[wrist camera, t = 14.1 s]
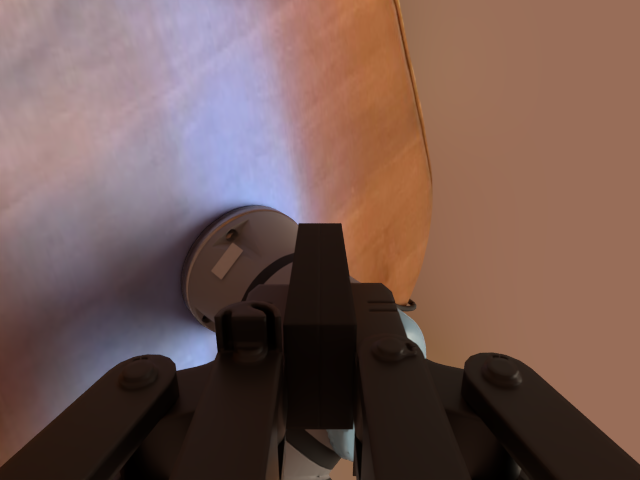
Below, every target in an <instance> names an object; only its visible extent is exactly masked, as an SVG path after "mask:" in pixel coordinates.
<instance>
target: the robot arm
mask: <svg viewBox="0 0 640 480" xmlns="http://www.w3.org/2000/svg"><path fill="white" fill-rule="evenodd" d="M181 290H182V295H183V299H184V301H185V304H186V306H187V308H188V309H189V310H190V312H191V313H192V314H193V316H194V317H195V318H196V319H197V320H198V321H199V322H200V323H201V324H202V325H203V326H204V327H206V328H208V329H209V330H211V331H213V332H215V333H216V340H217V350H218V353H217V355H216V358H215V360H214V361H212V362H209V363H207V364H204V365H201V366H197V367H193V368H188V369H184V370H179V371H176V365H175V363H174V362H173V361H172V360H171V359H170V358H168V357H165V356H162V355H150V354H147V355H142V356H137V357H133V358H130V359H128V360H126V361H123V362H121V363H119V364H118V365H116V366H115V367H113V368H112V369H110V370H109V371H108V372H107V373H106V374H104V375H103V376H102V377H101V378H100V379H99V380H98V381H97V382H95V383H94V384H93V385H92V386H91V387H90V388H89V389H88V390H87V391H85V392H84V393H83V394H82V395H81V396H80V397H79V398H78V399H76V400H75V401H74V402H73V403H72V404H71V405H70V406H69V407H68V408H66V409H65V410H64V411H63V412H62V413H61V414H60V415H59V416H57V417H56V418H55V419H54V420H53V421H52V422H51V423H50V424H49V425H47V426H46V427H45V428H44V429H43V430H42V431H41V432H40V433H38V434H37V435H36V436H35V437H34V438H33V439H32V440H31V441H29V442H28V443H27V444H26V445H25V446H24V447H23V448H22V449H21V450H19V451H18V452H17V453H16V454H15V455H14V456H13V457H12V458H10V459H9V460H8V461H7V462H6V463H5V464H4V465H3V466H2V467H0V480H331V478H330V476H329V473H330V472H331V470H332V469H333V468H334V466H335V465H336V464H337V463H338V461H339V460H340V459H341V458H343V459H347V460H349V461H352V462H353V476H356V478H357V480H640V464H638V463H637V462H636V461H635V460H634V459H633V458H632V457H631V456H629V455H628V454H627V453H626V452H625V451H624V450H623V449H622V448H620V447H619V446H618V445H617V444H616V443H615V442H614V441H613V440H611V439H610V438H609V437H608V436H607V435H606V434H605V433H604V432H602V431H601V430H600V429H599V428H598V427H597V426H596V425H595V424H593V423H592V422H591V421H590V420H589V419H588V418H587V417H586V416H584V415H583V414H582V413H581V412H580V411H579V410H578V409H576V408H575V407H574V406H573V405H572V404H571V403H570V402H568V401H567V400H566V399H565V398H564V397H563V396H562V395H561V394H560V393H558V392H557V391H556V390H555V389H554V388H553V387H552V386H551V385H549V384H548V383H547V382H546V381H545V380H544V379H543V378H542V377H540V376H539V375H538V374H537V373H536V372H535V371H534V370H533V369H531V368H530V367H528V366H527V365H526V364H524V363H522V362H521V361H519V360H517V359H514V358H512V357H510V356H507V355H503V354H498V353H479V354H476V355H473V356H470V357H469V359H468V360H467V361H466V362H465V365H464V369H460V368H455V367H451V366H446V365H442V364H438V363H435V362H432V361H430V360H428V359H426V346H425V341H424V337H423V334H422V332H421V330H420V328H419V326H418V325H417V324H416V322H414V320H413V319H411V318H410V317H409V316H407V315H406V314H405V313H404V312H402V311H413V310H415V309H416V304H415V302H414V301H412V300H411V299H409V301H408V304H409V305H411V306H401V305H397V304H396V303H395V300H394V297H393V294H392V292H391V291H390V290H389V289H388V288H387V287H385V286H384V285H383V284H382V283H360V282H358V281H357V280H355V279H354V278H352V277H351V276H349V270H348V263H347V257H346V251H345V244H344V238H343V232H342V225H341V223H299V225H297V223H296V222H295V221H294V220H292V219H291V218H290V217H288V216H287V215H285V214H283V213H282V212H280V211H278V210H276V209H273V208H271V207H266V206H247V207H242V208H239V209H236V210H233V211H231V212H229V213H227V214H225V215H223V216H221V217H220V218H218V219H217V220H215V221H214V222H213V223H212V224H210V225H209V226H208V227H207V228H206V229H205V230H204V231H203V232H202V233H201V234H200V236H199V237H198V238H197V239H196V241H195V242H194V244H193V245H192V247H191V249H190V251H189V253H188V255H187V257H186V260H185V263H184V266H183V270H182V276H181Z"/></svg>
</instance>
